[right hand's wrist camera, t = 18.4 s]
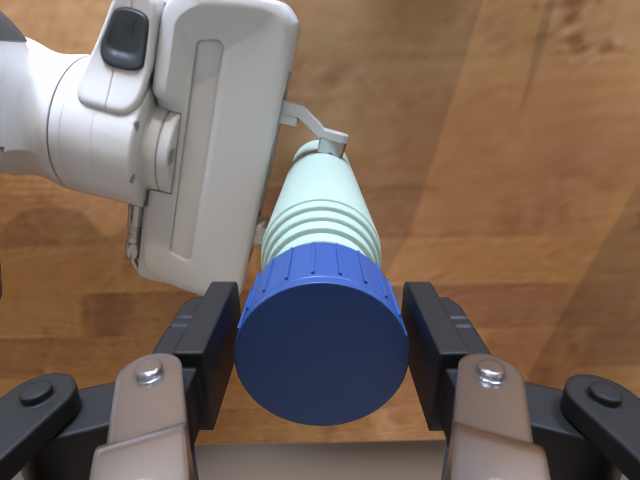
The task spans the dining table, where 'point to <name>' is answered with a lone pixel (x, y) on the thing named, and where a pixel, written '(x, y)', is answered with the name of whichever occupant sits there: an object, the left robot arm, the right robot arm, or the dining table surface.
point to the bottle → (320, 208)
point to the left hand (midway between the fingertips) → (333, 189)
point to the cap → (321, 336)
